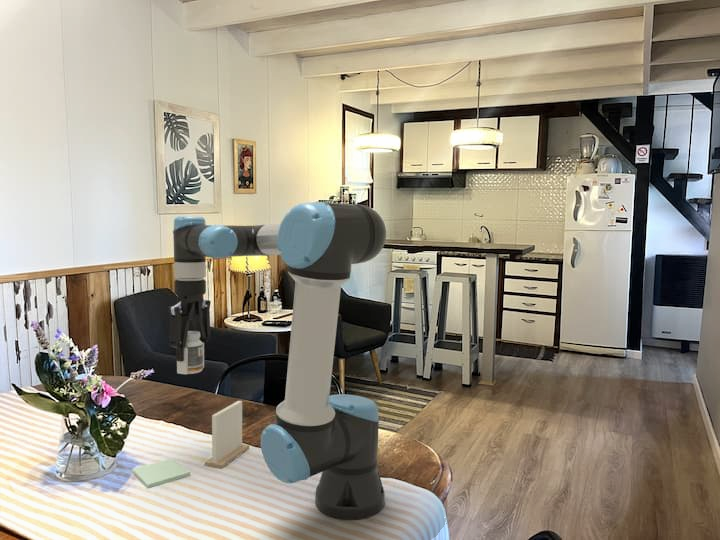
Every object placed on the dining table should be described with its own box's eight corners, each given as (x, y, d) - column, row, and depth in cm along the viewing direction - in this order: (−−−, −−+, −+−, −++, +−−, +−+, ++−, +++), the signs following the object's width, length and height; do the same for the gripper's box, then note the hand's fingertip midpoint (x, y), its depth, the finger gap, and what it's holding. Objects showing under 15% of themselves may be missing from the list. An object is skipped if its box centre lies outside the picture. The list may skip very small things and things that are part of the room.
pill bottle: (206, 369, 143) (206, 330, 142) (197, 375, 137) (196, 335, 136) (185, 367, 143) (185, 329, 142) (175, 373, 138) (174, 334, 137)
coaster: (189, 475, 132) (189, 472, 132) (147, 488, 126) (147, 484, 126) (173, 461, 140) (173, 457, 140) (132, 472, 133) (132, 469, 133)
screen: (233, 445, 150) (233, 399, 149) (249, 448, 148) (249, 401, 147) (204, 465, 138) (204, 415, 137) (221, 468, 136) (221, 417, 135)
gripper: (201, 274, 148) (201, 360, 150) (151, 281, 131) (152, 378, 133) (224, 276, 145) (225, 363, 147) (177, 283, 128) (178, 382, 130)
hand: (190, 370), depth 140 cm, fingers closed on pill bottle, 6 cm apart
